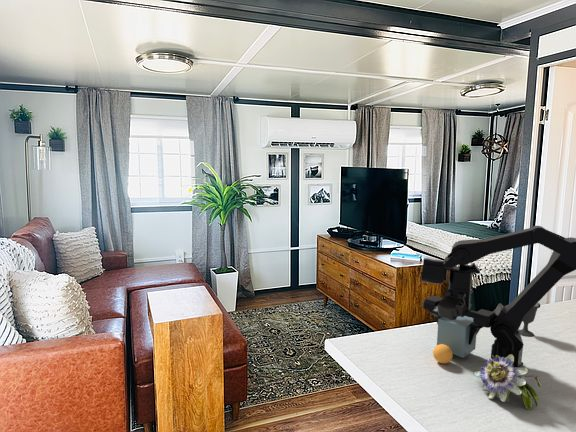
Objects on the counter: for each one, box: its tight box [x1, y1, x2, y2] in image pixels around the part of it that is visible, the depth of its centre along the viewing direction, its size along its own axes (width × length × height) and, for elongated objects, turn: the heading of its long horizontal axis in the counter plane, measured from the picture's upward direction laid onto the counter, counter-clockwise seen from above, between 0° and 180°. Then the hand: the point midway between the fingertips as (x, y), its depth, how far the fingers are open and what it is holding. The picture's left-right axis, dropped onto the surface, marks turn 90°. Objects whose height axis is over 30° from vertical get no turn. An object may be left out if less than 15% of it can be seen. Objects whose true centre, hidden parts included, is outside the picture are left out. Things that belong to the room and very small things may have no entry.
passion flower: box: [472, 354, 542, 411], centre depth 92 cm, size 11×11×12 cm
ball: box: [432, 344, 454, 364], centre depth 107 cm, size 5×5×5 cm
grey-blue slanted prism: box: [436, 316, 477, 359], centre depth 111 cm, size 8×8×9 cm
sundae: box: [518, 302, 541, 337], centre depth 125 cm, size 7×7×15 cm
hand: (455, 339), depth 111 cm, fingers closed on grey-blue slanted prism, 8 cm apart
